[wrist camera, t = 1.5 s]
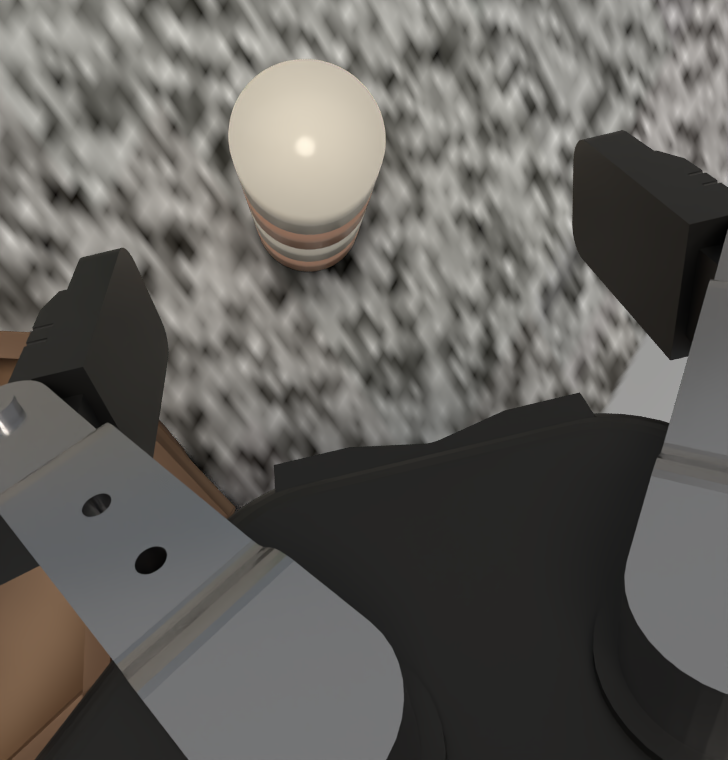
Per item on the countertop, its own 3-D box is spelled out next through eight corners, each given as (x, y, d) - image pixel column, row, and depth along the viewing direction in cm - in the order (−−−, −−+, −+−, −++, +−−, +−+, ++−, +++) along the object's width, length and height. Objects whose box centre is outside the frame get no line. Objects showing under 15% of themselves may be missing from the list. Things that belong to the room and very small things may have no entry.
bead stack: (254, 268, 28) (225, 210, 18) (258, 166, 28) (231, 52, 18) (356, 274, 29) (382, 220, 19) (361, 173, 29) (388, 65, 19)
